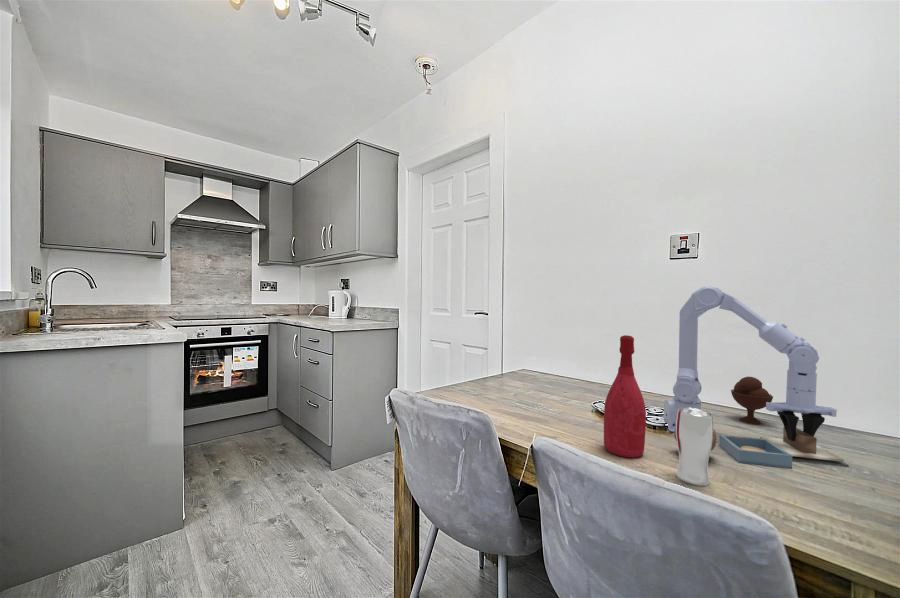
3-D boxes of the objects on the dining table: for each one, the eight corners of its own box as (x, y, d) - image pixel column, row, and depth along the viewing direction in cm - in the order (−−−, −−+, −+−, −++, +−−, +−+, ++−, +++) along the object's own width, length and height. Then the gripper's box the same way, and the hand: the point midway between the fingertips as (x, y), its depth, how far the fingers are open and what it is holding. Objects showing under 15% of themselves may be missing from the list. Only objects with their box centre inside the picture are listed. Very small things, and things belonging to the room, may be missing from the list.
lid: (785, 455, 96) (786, 437, 96) (759, 438, 108) (760, 422, 108) (843, 461, 94) (844, 443, 94) (810, 443, 105) (811, 427, 105)
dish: (738, 462, 94) (739, 450, 94) (719, 445, 105) (719, 434, 105) (791, 468, 92) (792, 455, 91) (766, 450, 102) (766, 439, 102)
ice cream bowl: (780, 428, 120) (781, 380, 120) (739, 425, 123) (741, 378, 123) (760, 418, 131) (761, 374, 131) (723, 415, 133) (724, 372, 133)
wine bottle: (627, 462, 93) (631, 338, 92) (594, 447, 101) (598, 334, 101) (653, 455, 97) (657, 337, 97) (620, 441, 106) (623, 333, 106)
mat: (780, 459, 97) (780, 457, 97) (755, 441, 108) (755, 440, 108) (848, 466, 93) (848, 465, 93) (815, 448, 105) (815, 446, 105)
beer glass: (667, 472, 88) (669, 406, 88) (696, 471, 88) (698, 406, 88) (688, 487, 81) (691, 416, 81) (719, 487, 81) (722, 416, 81)
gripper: (777, 390, 99) (775, 442, 99) (846, 395, 95) (844, 449, 95) (762, 384, 105) (760, 433, 106) (826, 388, 102) (824, 439, 102)
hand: (799, 440), depth 101 cm, fingers closed on lid, 3 cm apart
